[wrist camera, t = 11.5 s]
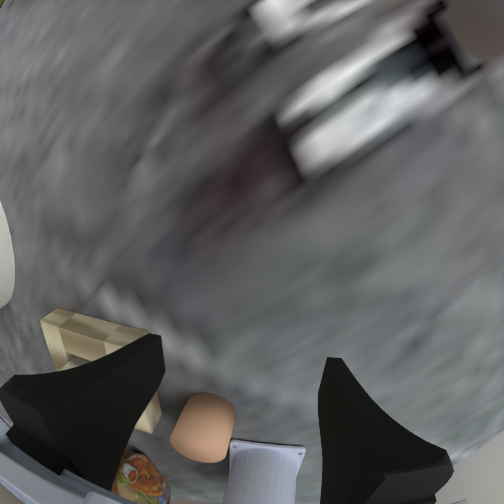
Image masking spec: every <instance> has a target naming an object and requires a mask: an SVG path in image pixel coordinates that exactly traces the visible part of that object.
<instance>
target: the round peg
mask: <svg viewBox="0 0 504 504" xmlns="http://www.w3.org/2000/svg"><path fill="white" fill-rule="evenodd" d="M235 419H236V410H235V408H234V407H233V405H232V404H231V403H230V402H229V401H227V400H226V399H224V398H222V397H220V396H218V395H215V394H211V393H196V394H194V395H192V396H190V397H189V398H188V400H187V402H186V404H185V406H184V408H183V411H182V413H181V415H180V417H179V419H178V421H177V423H176V426H175V428H174V430H173V432H172V434H171V437H170V442H171V445H172V446H173V448H174V449H175V450H176V451H178V452H179V453H180V454H182V455H183V456H185V457H187V458H189V459H192V460H195V461H199V462H204V463H215V462H219V461H221V460H223V459H224V458H225V456H226V453H227V449H228V446H229V442H230V438H231V434H232V430H233V426H234V423H235Z"/></svg>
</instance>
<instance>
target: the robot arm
mask: <svg viewBox="0 0 504 504" xmlns="http://www.w3.org/2000/svg"><path fill="white" fill-rule="evenodd" d="M164 373H165V364H164V356H163V348H162V339H161V336H160V335H155V334H150V333H149V334H146V335H144V336H142V337H140V338H139V339H137V340H135V341H133V342H131V343H129V344H127V345H125V346H124V347H122V348H120V349H118V350H116V351H114V352H112V353H110V354H108V355H105V356H103V357H101V358H99V359H97V360H94V361H92V362H89V363H86V364H83V365H80V366H77V367H74V368H70V369H66V370H62V371H57V372H52V373H45V374H35V375H14V376H13V377H12V378H10V379H9V380H8V381H7V382H6V383H5V384H4V385H3V386H2V387H1V388H0V401H1V403H2V405H3V406H4V408H5V410H6V412H7V413H8V415H9V417H10V418H11V420H12V421H13V423H14V425H13V426H12V427H11V428H10V426H9V425H8V424H7V423H6V422H4V421H3V420H2V419H1V418H0V483H2V485H4V486H5V487H6V488H7V489H8V490H9V491H11V492H12V493H13V494H14V495H15V496H16V497H18V498H19V499H20V500H21V501H23V502H24V503H25V504H140V503H137V502H134V501H132V500H129V499H127V498H124V497H122V496H119V495H117V494H114V493H112V492H111V490H112V486H113V482H114V479H115V475H116V472H117V469H118V467H119V464H120V461H121V458H122V455H123V453H124V450H125V448H126V445H127V443H128V441H129V438H130V436H131V434H132V432H133V429H134V427H135V426H136V424H137V422H138V420H139V419H140V417H141V415H142V414H143V412H144V411H145V409H146V407H147V406H148V404H149V403H150V401H151V399H152V398H153V396H154V394H155V393H156V391H157V389H158V387H159V385H160V383H161V381H162V378H163V376H164ZM318 417H319V427H320V436H321V445H322V458H323V465H322V486H321V499H320V504H435V503H436V497H435V494H436V493H437V492H438V491H439V490H440V489H441V488H442V487H443V486H444V485H445V484H446V483H447V482H448V480H449V479H450V478H451V476H452V474H453V472H454V470H453V466H452V463H451V460H450V458H449V455H448V453H447V451H446V450H445V449H442V448H440V447H438V446H436V445H433V444H431V443H429V442H427V441H425V440H423V439H422V438H420V437H418V436H416V435H415V434H413V433H411V432H410V431H408V430H407V429H405V428H404V427H403V426H401V425H400V424H399V423H397V422H396V421H395V420H393V419H392V418H391V417H390V416H389V415H388V414H387V413H385V412H384V411H383V410H382V409H381V408H380V407H379V406H378V405H377V404H376V403H375V402H374V401H373V400H372V398H371V397H370V396H369V395H368V394H367V393H366V391H365V390H364V389H363V388H362V386H361V385H360V384H359V382H358V381H357V380H356V378H355V377H354V376H353V374H352V373H351V371H350V370H349V368H348V367H347V365H346V364H345V363H344V361H343V360H342V358H332V357H327V360H326V364H325V368H324V372H323V376H322V380H321V384H320V387H319V391H318ZM305 452H306V448H305V447H301V446H286V445H274V444H264V443H256V442H248V441H241V440H231V441H230V457H229V478H228V482H227V486H226V490H225V494H224V498H223V502H222V504H294V503H295V488H296V476H297V473H298V471H299V468H300V465H301V463H302V460H303V457H304V455H305ZM452 504H468V503H467V500H465V499H464V500H461V501H459V502H456V503H452Z"/></svg>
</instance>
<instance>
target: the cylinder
mask: <svg viewBox="0 0 504 504" xmlns="http://www.w3.org/2000/svg"><path fill="white" fill-rule="evenodd" d="M14 282H15V266H14V253H13V248H12V242H11V235H10V232H9V228H8V224H7V220H6V216H5V213H4V211H3V208H2V205H1V202H0V308H2V307H3V306H5V305H6V304H7V303H8V302H9V301H10V300H11V297H12V294H13V290H14Z"/></svg>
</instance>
